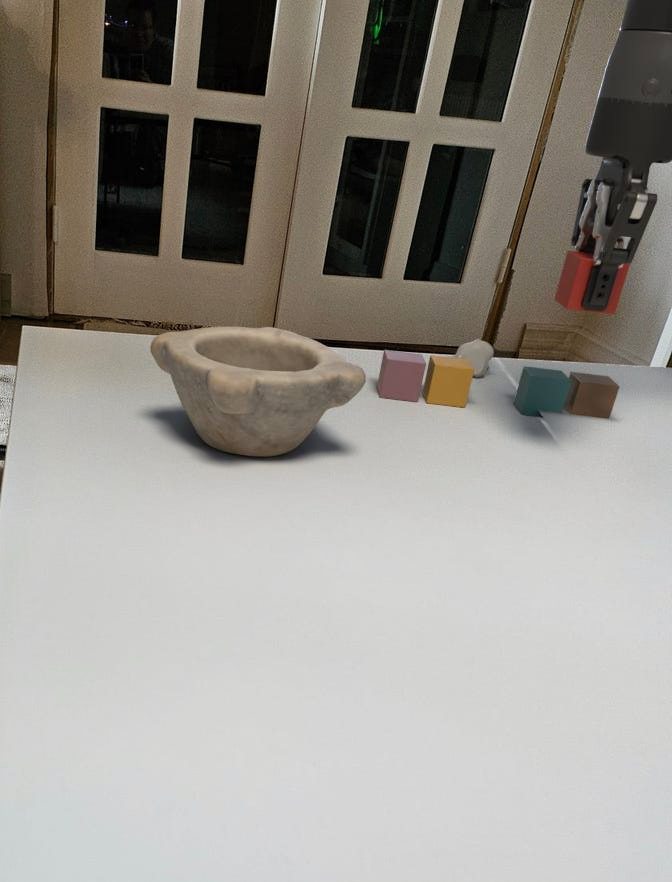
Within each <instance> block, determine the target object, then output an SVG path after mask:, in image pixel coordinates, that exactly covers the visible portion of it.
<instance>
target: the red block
mask: <svg viewBox="0 0 672 882" xmlns="http://www.w3.org/2000/svg"><path fill="white" fill-rule="evenodd" d="M593 257H594V253H585V252H576V251H574V250H568V251H567V252H566V255H565V258H564V259H565V260H564V263H563V267H562V270H561V274H560V277H559V282H558V285H557V289H556V292H555V297H554V301H555V302H557V303H558V304H559V305H560V306H562V307H563V308H564V309H566V310H570V311H578V312H587V313H589V312H590V313H599V314H607V315H615V313H616V311H617V307H618V304H619V302H620V298H621V294H622V291H623V287H624V284H625V282H626V279H627V275H628V272H629V269H630V265H631V264H624V265H623V267H622V268H621V269H619V268H617V269H618V272H617V275H616V279H615V282H614V285H613V288H612V292H611V295H610V298H609V302H608V305H607V308H606V309H605V310H603V311H593V310H586V309H584V308H583V307H582V306H581V302H582V298H583V295H584V291H585V288H586V284H587V281H588V277H589V274H590V271H591V267H592V266H593Z"/></svg>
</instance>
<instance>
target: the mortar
mask: <svg viewBox="0 0 672 882" xmlns="http://www.w3.org/2000/svg"><path fill="white" fill-rule="evenodd" d="M149 347H150V348H149V349H150V353H151V356H152V357H153V359H154V361H155V363H156V364H157V366H158V367H159V369H161V371H163V372H164V373H167V374H169V375H170V378H171V381H172V384H173V386H174V389H175V391H176V394H177V397H178V399H179V401H180V403H181V406H182V408H183V409H184V411H185V412H186V415H187V416H188V419H189V421H190V422H191V425H192V427H193V429H194V430H195V432H196V433H197V435H198V436H199V438H200V440H202V441H203V442H204V443H205V444H207V445H208V446H209V447H212V448H213V449H216V450H218V451H221V452H225V453H229V454H233V455H242V456H249V457H275V456H280V455H284V454H286V453H290V452H291V451H293V450H294V449H296V448H297V447H298V446H300V445H301V444H302V443H303V442H304V441H305V440H306V438H308V437H309V435H310V434H311V432H313V430H314V428H315V427H316V426H317V424H318V423H319V422H320V420H321V419H322V418H323V416H324V414H325V413H326V412H327V411H328V410H330V409H334V408H339V407H343V406H346V404H348V403H349V402H350V401H351V400H352V399H354V397H356V396H357V395H358V394H359V393H360V391H361V390H362V389H363V388H364V386H365V384H366V379H367V378H366V373H365V371H364V369H363V368H362V367H361V366H360V365H359V364H356V363H353V362H350V361H347V359H346V358H345V357H344V356H343V355H342V354H341V353H340V352H338V351H337V350H335V349H333V348H331V347H329V346H327V345H324V344H323V343H321V342H319V341H318V340H314V339H312V338H309V337H306V336H304V335H300V334H298V333H295V332H294V331H289V330H286V329H280V328H277V327H273V326H264V327H248V326H247V327H245V326H210V327H201V328H194V329H188V330H181V331H167V332H164V333H161V334H158V335H156V336H155V337H154V338H153V339H152V341H151V343H150V346H149Z"/></svg>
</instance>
